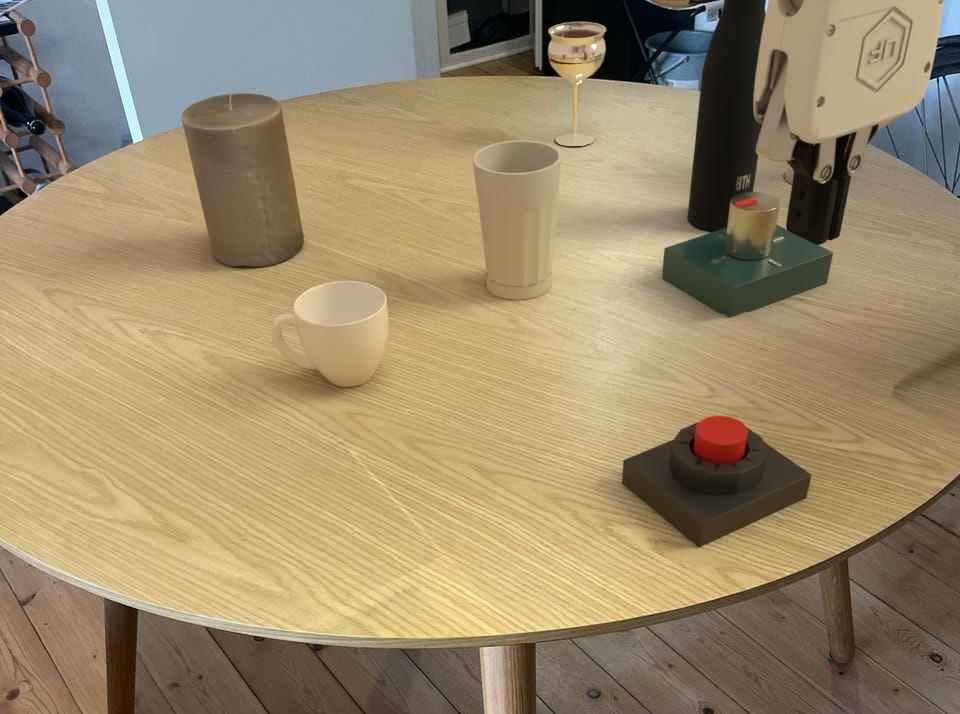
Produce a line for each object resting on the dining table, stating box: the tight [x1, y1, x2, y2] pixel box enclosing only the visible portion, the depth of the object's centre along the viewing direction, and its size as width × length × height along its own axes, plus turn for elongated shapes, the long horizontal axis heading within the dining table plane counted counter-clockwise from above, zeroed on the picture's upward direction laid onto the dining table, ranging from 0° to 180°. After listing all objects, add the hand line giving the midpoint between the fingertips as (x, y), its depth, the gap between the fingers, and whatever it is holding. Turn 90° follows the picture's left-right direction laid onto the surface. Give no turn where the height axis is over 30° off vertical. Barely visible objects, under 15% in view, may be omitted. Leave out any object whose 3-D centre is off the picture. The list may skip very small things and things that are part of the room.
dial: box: [724, 191, 781, 260], centre depth 94 cm, size 4×4×5 cm
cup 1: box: [271, 280, 390, 388], centre depth 87 cm, size 8×10×7 cm
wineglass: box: [547, 21, 607, 144], centre depth 121 cm, size 7×7×12 cm
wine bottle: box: [686, 0, 767, 232], centre depth 97 cm, size 6×6×30 cm
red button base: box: [621, 421, 813, 548], centre depth 74 cm, size 10×9×4 cm
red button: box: [693, 415, 748, 464], centre depth 72 cm, size 4×4×2 cm
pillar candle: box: [180, 92, 305, 268], centre depth 102 cm, size 10×10×15 cm
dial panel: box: [661, 223, 834, 319], centre depth 97 cm, size 12×10×3 cm
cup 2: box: [472, 139, 563, 301], centre depth 95 cm, size 8×8×12 cm
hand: (811, 234), depth 66 cm, fingers closed
